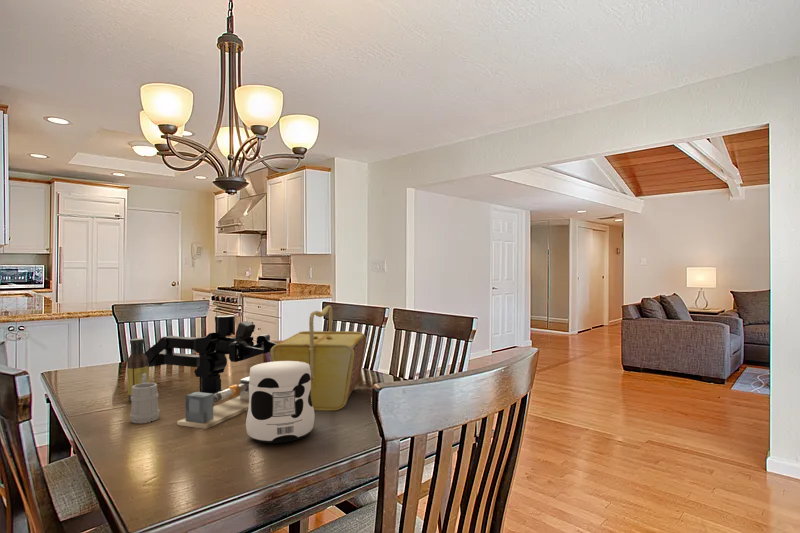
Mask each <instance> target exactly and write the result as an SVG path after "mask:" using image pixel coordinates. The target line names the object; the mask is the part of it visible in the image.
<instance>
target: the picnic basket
mask: <svg viewBox="0 0 800 533" xmlns="http://www.w3.org/2000/svg"><path fill="white" fill-rule="evenodd" d="M327 313H328V331H327V330H326V331H323V330H321V331H320V330H315V329H314V318H315V316H316V317H319V318H321V317H324V316H326V315H327ZM308 318H309V319H308V322H309V323H308V324H309V325H308V326H309V328H308V329H309V330H304V331H299V332H297V333H296V334H294V335H292V336H290V337H288V338H285V339H283V340H284V341H282V342H280V343H278V344H276V345H274V346H273V347H272V348H271V351H270V354H271V360H272V362H275V361H299V362H305V363H307V364H309V365H310V370H311V401H312V405H313V408H314V411H326V412H327V411H328V412H329V411H331V412H333V411H338V410H341V409H343V408H344V407H345V406H346V405H347V402H348V399H349V397H350V395H351V394H352V392H353V391H354V389H355V388H356V387H357V386H358V384H359V383H360V380H361V379H360V378H361V372H362V367H363V362H364V355H365V350H366V344H367V337H366V335H365V334H364V333H363V332H360V331H349V330H347V331H344V330H342V331H341V330H340V331H339V330H338V331H336V330H335V331H333V308H332V305H330V304H329V305H326V306H325V307H324V308H323V309H322V310H321V311H319V310H314V311H312V312H310V315H309V317H308ZM314 330H315V331H314Z"/></svg>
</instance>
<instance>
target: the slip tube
mask: <svg viewBox="0 0 800 533" xmlns="http://www.w3.org/2000/svg"><path fill="white" fill-rule="evenodd" d="M248 389H249V382H245V383H242V384H240V383H239V384H231V385H230V386H227V387H226V388H225V389H223V391H221V392H218V393H215V394H213V403H217V402H220V401H222V400H225V399H228V398H229V399H233V398H235V397H238V396H240V392H243V391H245V390H248Z"/></svg>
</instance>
